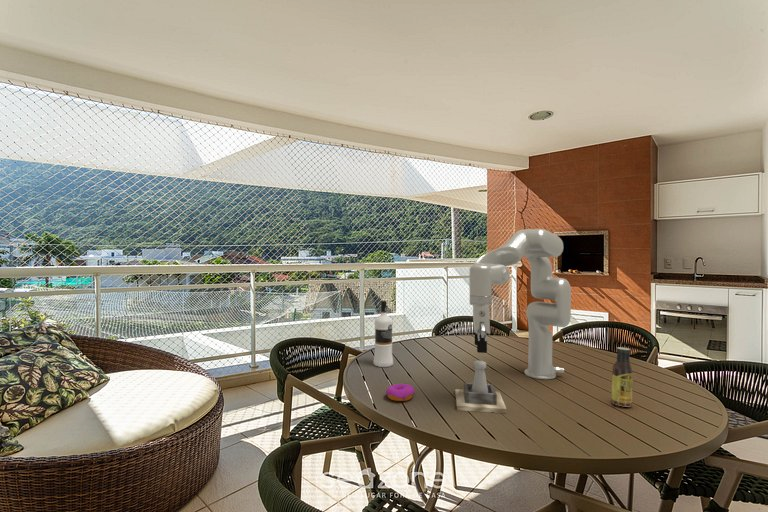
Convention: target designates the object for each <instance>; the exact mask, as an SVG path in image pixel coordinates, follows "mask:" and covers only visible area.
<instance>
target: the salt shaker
mask: <svg viewBox="0 0 768 512" xmlns="http://www.w3.org/2000/svg"><path fill="white" fill-rule="evenodd" d="M473 368H474V376H473V380H472V383H473V385H472V392H480V393H488V387H487V384H488V383H487V375H486V371H485V369H486V368H487V362H486V361H483V360H475V361H474V362H473ZM486 370H487V369H486Z"/></svg>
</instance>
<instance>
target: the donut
mask: <svg viewBox="0 0 768 512" xmlns="http://www.w3.org/2000/svg"><path fill="white" fill-rule="evenodd" d="M414 394H415V388H414V387H413V386H412V385H411V384H407V383H396V384H392V385H389V386H388V387H387V389H386V393H385V396H386V397H387V398H388V399H390V400H391V401H395V402H406V401H410V400H411V399H412V398H413V395H414Z"/></svg>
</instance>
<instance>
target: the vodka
mask: <svg viewBox="0 0 768 512" xmlns="http://www.w3.org/2000/svg"><path fill="white" fill-rule="evenodd" d="M393 321H394V320H393V319H392V318H391V317H390V316H389V315H388V314H387V300H381V301H380V315H378V316H377V317H376V318H375V320H374V357H373V361H372V362H373V365H374V366H375V367H377V366H378V367H377V368H389V367H391V366H393V365H394V358H393V344H394V343H393Z"/></svg>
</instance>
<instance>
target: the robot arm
mask: <svg viewBox="0 0 768 512" xmlns="http://www.w3.org/2000/svg"><path fill="white" fill-rule="evenodd" d="M563 252H564V241H563V240H562V239H561V238H560V236H558V235H557V234H555V233H553V232H552V231H549V230H547V229H544V228H533V229H532V228H529V229H527V228H526V229H520V230H517V231H516V232H514V233H513V234H512V235H511V237H509V239H508V240H507V241H506V242H505V243H503V245H502V246H500V247H497V248H495V249H493V250H491V251H488V252H486V253H484V254H482V255H481V256H479V258H477V260H475V262H474V263H473V264H471V266H470V267H469V305H471V306H472V323H473V329H474V345H475V346H476V352H477V353H478V354H479V353H480V354H481V353H483V354H486V353H488V340H487V335H490V334H491V326H490V325H491V324H490V321H491V320H490V317H491V316H490V306H492V304H493V303H492V302H493V300H492V299H493V297H492V294H493V293H492V290H493V289H492V285H494V286H495V285H496V286H501V285H504V284H506V283H507V282H508V281H509V279H510V275H511V274H510V273H511V272H510V269H509V268H508V266H509V267H510V266H513V265H515V264H518V263H519V262H520V261H521V260H522V259H523V258H524V257H525V258H526V259H527V261H528V263H529V266H530V292H531V293H530V294H531V296H532V297H534V298H535V299H540V300H548V301H549V300H551V301H555V303H554V302H545V301H534V302H533V301H532V302H530V303H529V304H528V305H527V307H526V318H527V323H528V325H527V326H528V358H527V360H528V362H527V363H528V367H527V368H526V369H524V375H525V376H527V377H529V378H533V379H538V380H553V379H555V378H557V373H560V374H561V373H563V374H564V373H565V369H564V367H559V366H554V365H553V333H552V330H551V329H550V327H559V328H565V327H568V325H569V324H570V323H571V318H572V315H571V314H572V313H571V312H572V311H571V310H572V288H571V284H570V282H569V281H568V280H567V279H566V278H563V277H554V276H553V266H552V262H551V261H550V259H549V258H557V257H559V256H561V255H562V253H563ZM549 326H550V327H549Z"/></svg>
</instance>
